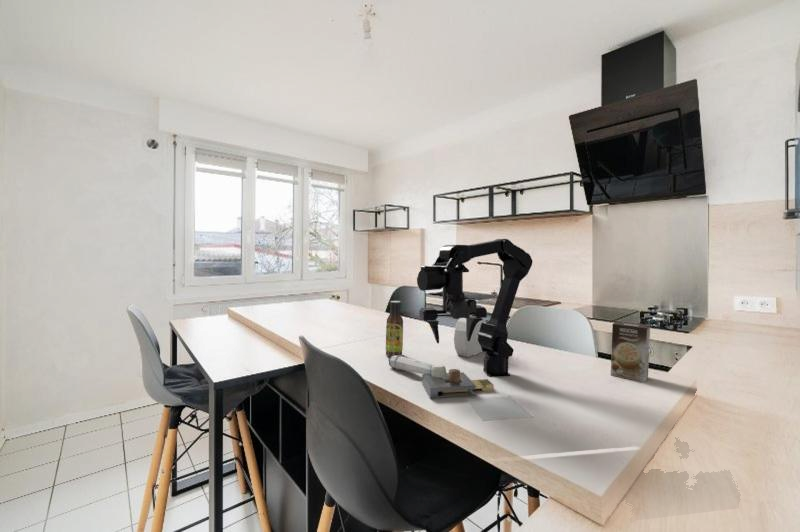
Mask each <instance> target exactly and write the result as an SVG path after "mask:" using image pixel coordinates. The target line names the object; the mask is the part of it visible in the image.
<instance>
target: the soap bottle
mask: <svg viewBox="0 0 800 532" xmlns="http://www.w3.org/2000/svg"><path fill="white" fill-rule="evenodd" d="M475 300H476V304H478V303H479V300H478V299H475ZM482 319H483V320H482V321H479V322H478V323H477V324H476V326H475V328H474V330H473V333H472V336H471V339H470V341H469V342H468V341H467V336H466V318H459V319H457V321H456V325H455V328H454V336H453V343H454V349H455V352H456V355H457V354H458V356H461V355H463V356H462V357H465V356H467V358H470V357H472V355H473V356H475V355H477V354H476V353H478V354H480V353H482V352H481V351H482V349H481V346H480V344H479V341H478V335H477V334H478V332H479V330H480V326H481V324H482V322H483V323H487V321H486V318H482ZM479 352H480V353H479ZM474 354H475V355H474ZM469 356H470V357H469Z"/></svg>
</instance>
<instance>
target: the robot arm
mask: <svg viewBox="0 0 800 532" xmlns="http://www.w3.org/2000/svg"><path fill="white" fill-rule="evenodd" d="M493 254H497V257H498V259H499V260H500V261H501V262H502V263H503V264H502V271H503V277H504V278H503V280H502V283H501V286H500V289H499V292H498V295H497V298H496V301H495V304H494V307H493V309H492V313H491V315H490V318H489V320H488V321H486V323H483V322H482V324H481V326H480V330H479V332H478V334H477V335H478V341H479V344H480V346H481V349H482V351H483V352H484V353H485V354H484V355H485V356H484V357H483V368H482V369H483V372H484V371H485V372H484V373H485V374H486V375H487V376H489V377H490V378H497V377H500V378H501V377H511V373H510V372H509V358H510V357H511V358H512V357H513V354H514V348H513V347H512V346H511V345H510V344H509V342H508V336H509V334H508V329H507V328H508V327H507V323H508V319H509V318H510V317H509V316H510V315H511V314H510V313H511V310H512V307H513V304H514V301H515V298H516V295H517V293H518V289H519V285H520V283H521V282H522V280H524V278H525V277H526V276H527V275H528V273H529V272H530V270H531V268H532V266H533V258H532V256H531V254H529V253H528V252H527V251H525V250H524V249H523V248H521V247H520V246H517V245H516V244H514V243H513V242H512V241H511V240H510V239H508V238H496V239H494V240H489V241H483V242H478V243H474V244H473V243H472V244H445V245H443V246H441V247H440V250H439V253H438V256H437V257H436V259H435V261H434V262H433V264H431V266H429V265H421V266H420V270H419V272H418V274H417V277H416V283H417V287H418V289H420V291H422V292H423V291H424V292H425V291H437V290H442V291H441V295H442V304H441V309H436V307H435V308H434V307H431V306H430V307H420V309H419V311H418V312H419V318H420V319H421V320H422V321H425V322H426V323H427V324H428V325H429V326H430V329H431V331H432V334H433V336H434V339H435V342H436V343H437V344H439V343H440V334H439V323H440V321H439V320H438V317H451V318H452V319H454V320H459V319H460V318H466V336H467V341H468V342H469V341H470V339H471V336H472V333H473V330H474V328H475V326H476V324H477V323H478V322H479V321H482V320H483V319H482V318H484V319H486V318H487V317H488V311H487V308H486V307H484V306H482V305H479V304H478V303H477V302H476V300H477V299H468V300H466V298H465V292H464V286H463V285H464V282H463V281H464V277H463V275H464V274H463V273H469V272H470V269H468V267H467V266H465V264H466V263H468V262H470V261H471V260H473V259H475V258H478V257H484V256H488V255H493Z"/></svg>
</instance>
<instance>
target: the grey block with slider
mask: <svg viewBox="0 0 800 532" xmlns="http://www.w3.org/2000/svg"><path fill="white" fill-rule="evenodd" d="M446 373H447V376H446V377H449V372H446ZM421 376H422V382H421V384H422V387H423V388H424V391H425V392H426V394H427V395H428V398H429V399H430V400H438V399H440V400H441V399H452V398H453V399H455V398H456V399H457V398H475V397H476V396H477V395H476V392H475V391H474V390H476V389H479V390H480V391H482V392H491V391H494V384H493V383H492V382H491V381H490V380H489V379H488V378H485V379H484V378H483V379H470V377H469V376H468V375H467V374H466V373H465V372H463V371H462V372H461V371H460V382H451V383H449V381H448V383H445V381H444V380H443V379H442V378H439V377H434V376H432V375H431V374H421Z"/></svg>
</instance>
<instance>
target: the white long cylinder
mask: <svg viewBox="0 0 800 532" xmlns="http://www.w3.org/2000/svg"><path fill="white" fill-rule="evenodd" d="M388 365H389V367H391V368H393V369H396V370H398V371H400V370H402V371H408V372H412V373H417V374H421V375H422V374H431V375H432V376H434V377H439V378H442V379H443V380H444V381H445V383H448V381H449V377H446V376H447V373H448V372H447V368H446V366H445V365H444V364H431V363H427V362H424V361H419V360H416V359H412V358H408V357H404V356H403V354H402V355H400V356H396V355H394V356H391V357H390V356H389V358H388Z"/></svg>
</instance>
